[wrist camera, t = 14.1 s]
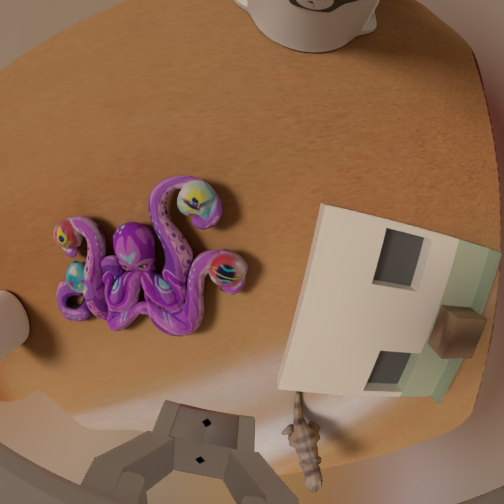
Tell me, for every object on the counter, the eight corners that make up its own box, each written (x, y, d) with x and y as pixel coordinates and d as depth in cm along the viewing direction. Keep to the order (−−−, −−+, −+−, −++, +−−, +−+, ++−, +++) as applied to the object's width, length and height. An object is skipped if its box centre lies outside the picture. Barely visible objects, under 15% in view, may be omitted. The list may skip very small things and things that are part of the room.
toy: (309, 479, 41) (301, 502, 32) (265, 397, 49) (249, 405, 40) (347, 463, 41) (348, 484, 32) (303, 379, 48) (295, 384, 39)
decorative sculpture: (254, 324, 41) (242, 169, 35) (253, 343, 36) (238, 170, 31) (74, 323, 43) (45, 197, 37) (59, 337, 38) (25, 203, 32)
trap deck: (320, 202, 36) (329, 206, 32) (483, 246, 37) (501, 253, 32) (277, 378, 42) (278, 397, 38) (429, 387, 43) (440, 402, 38)
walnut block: (441, 304, 36) (457, 317, 32) (470, 307, 36) (486, 319, 32) (427, 343, 38) (441, 358, 33) (456, 343, 38) (471, 358, 33)
